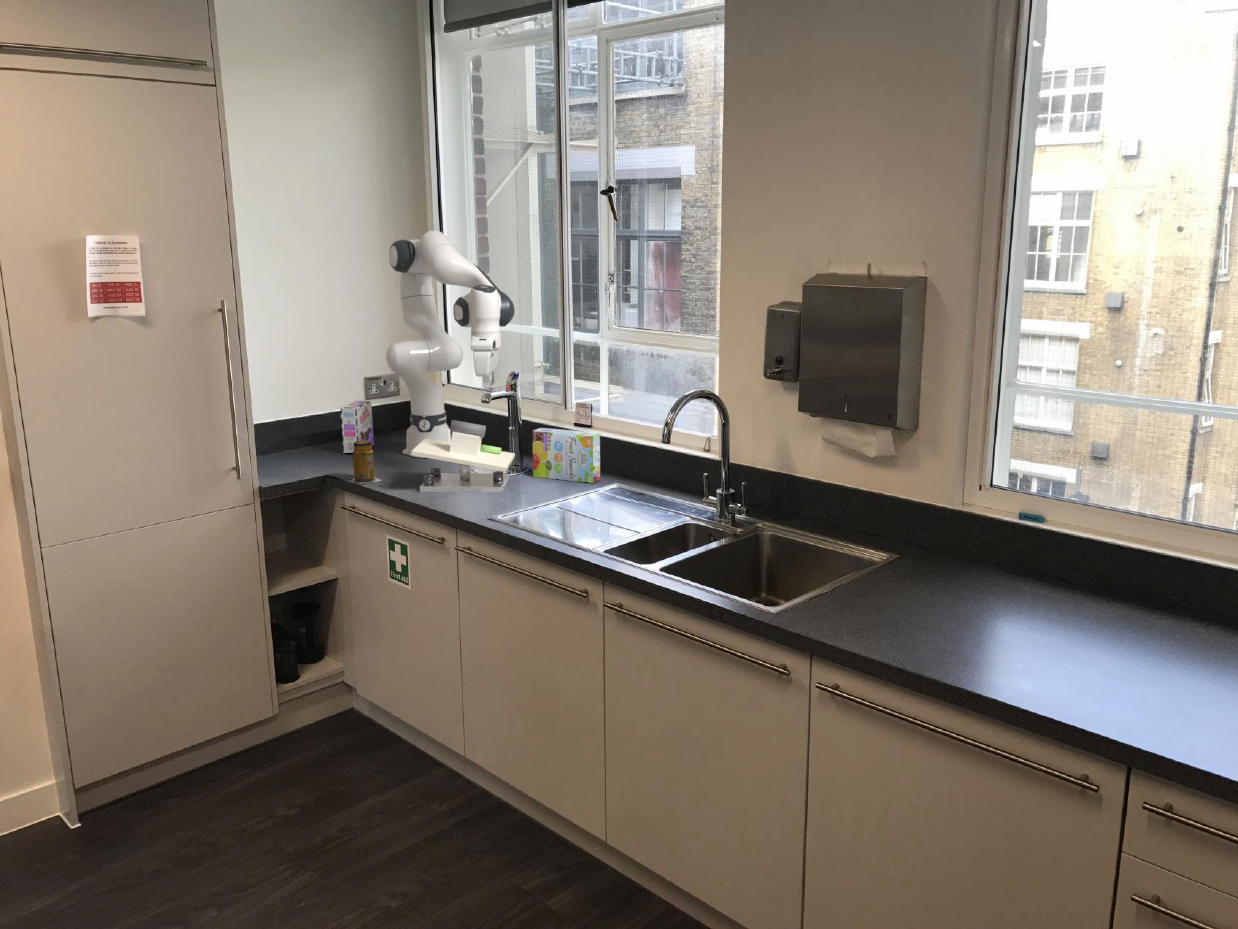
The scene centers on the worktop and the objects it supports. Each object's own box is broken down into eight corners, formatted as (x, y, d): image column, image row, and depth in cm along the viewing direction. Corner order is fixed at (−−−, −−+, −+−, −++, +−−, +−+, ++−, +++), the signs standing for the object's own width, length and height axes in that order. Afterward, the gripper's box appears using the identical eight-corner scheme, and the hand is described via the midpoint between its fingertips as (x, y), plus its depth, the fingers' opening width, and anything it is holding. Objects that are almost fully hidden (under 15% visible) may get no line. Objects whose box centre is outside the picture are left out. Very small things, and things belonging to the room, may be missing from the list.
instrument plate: (411, 454, 294) (415, 420, 291) (425, 441, 311) (429, 409, 309) (505, 471, 294) (510, 437, 291) (514, 457, 311) (519, 425, 309)
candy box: (359, 454, 344) (355, 407, 340) (342, 454, 345) (339, 407, 341) (374, 446, 357) (371, 400, 353) (359, 445, 358) (356, 399, 354)
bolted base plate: (420, 491, 297) (418, 465, 295) (431, 478, 313) (430, 453, 311) (500, 492, 296) (500, 466, 294) (508, 478, 312) (508, 453, 310)
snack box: (601, 480, 310) (600, 432, 306) (593, 484, 305) (592, 435, 301) (540, 473, 319) (539, 426, 315) (532, 477, 314) (530, 429, 310)
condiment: (370, 475, 316) (367, 438, 313) (382, 481, 310) (380, 443, 307) (348, 479, 312) (345, 441, 309) (360, 485, 305) (357, 446, 302)
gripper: (481, 336, 309) (483, 381, 312) (469, 345, 289) (471, 392, 293) (502, 336, 309) (503, 381, 312) (491, 345, 289) (492, 392, 292)
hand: (487, 387), depth 302 cm, fingers closed
